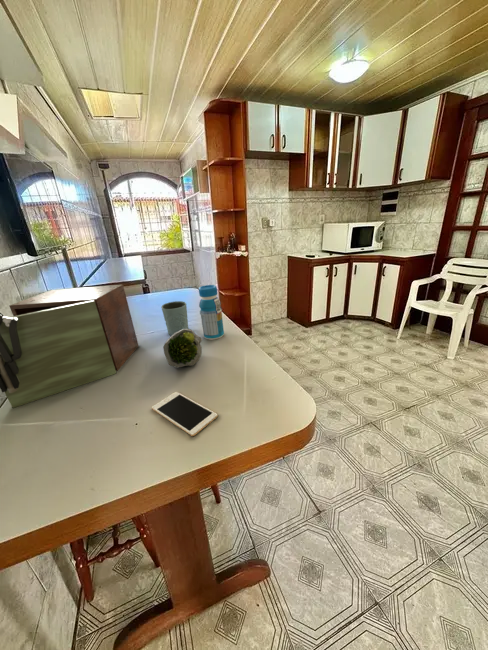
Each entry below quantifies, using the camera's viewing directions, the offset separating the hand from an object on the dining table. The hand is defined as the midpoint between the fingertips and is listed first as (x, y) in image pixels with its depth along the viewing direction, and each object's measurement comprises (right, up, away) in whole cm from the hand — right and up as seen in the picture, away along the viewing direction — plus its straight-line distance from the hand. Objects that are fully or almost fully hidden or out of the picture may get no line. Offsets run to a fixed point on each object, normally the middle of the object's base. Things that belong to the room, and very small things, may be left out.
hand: (11, 387), depth 66 cm
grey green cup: (+30, +13, +48) cm, 58 cm away
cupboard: (+4, +3, +29) cm, 30 cm away
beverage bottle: (+46, +11, +40) cm, 62 cm away
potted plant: (+40, +3, +21) cm, 45 cm away
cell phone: (+43, -6, -1) cm, 44 cm away
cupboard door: (+7, -4, +11) cm, 14 cm away
